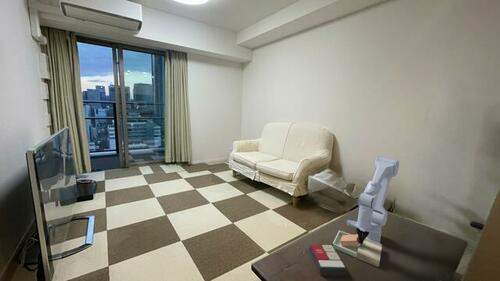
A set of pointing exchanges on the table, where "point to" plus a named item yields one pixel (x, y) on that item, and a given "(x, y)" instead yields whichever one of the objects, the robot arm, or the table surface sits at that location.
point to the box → (345, 249)
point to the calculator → (327, 260)
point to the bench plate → (369, 252)
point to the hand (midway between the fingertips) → (361, 242)
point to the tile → (350, 240)
